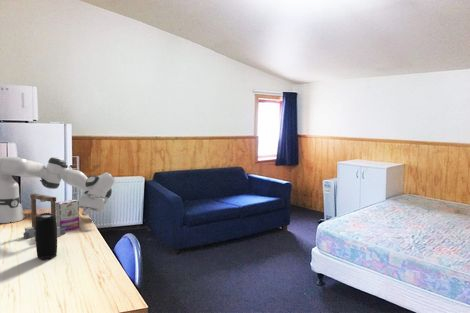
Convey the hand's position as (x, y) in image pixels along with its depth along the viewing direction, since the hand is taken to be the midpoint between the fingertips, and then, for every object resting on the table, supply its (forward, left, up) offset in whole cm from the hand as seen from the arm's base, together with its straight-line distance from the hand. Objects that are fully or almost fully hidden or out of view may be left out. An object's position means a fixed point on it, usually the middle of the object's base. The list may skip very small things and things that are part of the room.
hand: (83, 214), depth 213 cm
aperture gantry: (0, -25, -6) cm, 26 cm away
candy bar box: (0, -11, -7) cm, 12 cm away
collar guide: (0, -25, -6) cm, 25 cm away
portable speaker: (+28, -43, -7) cm, 51 cm away
